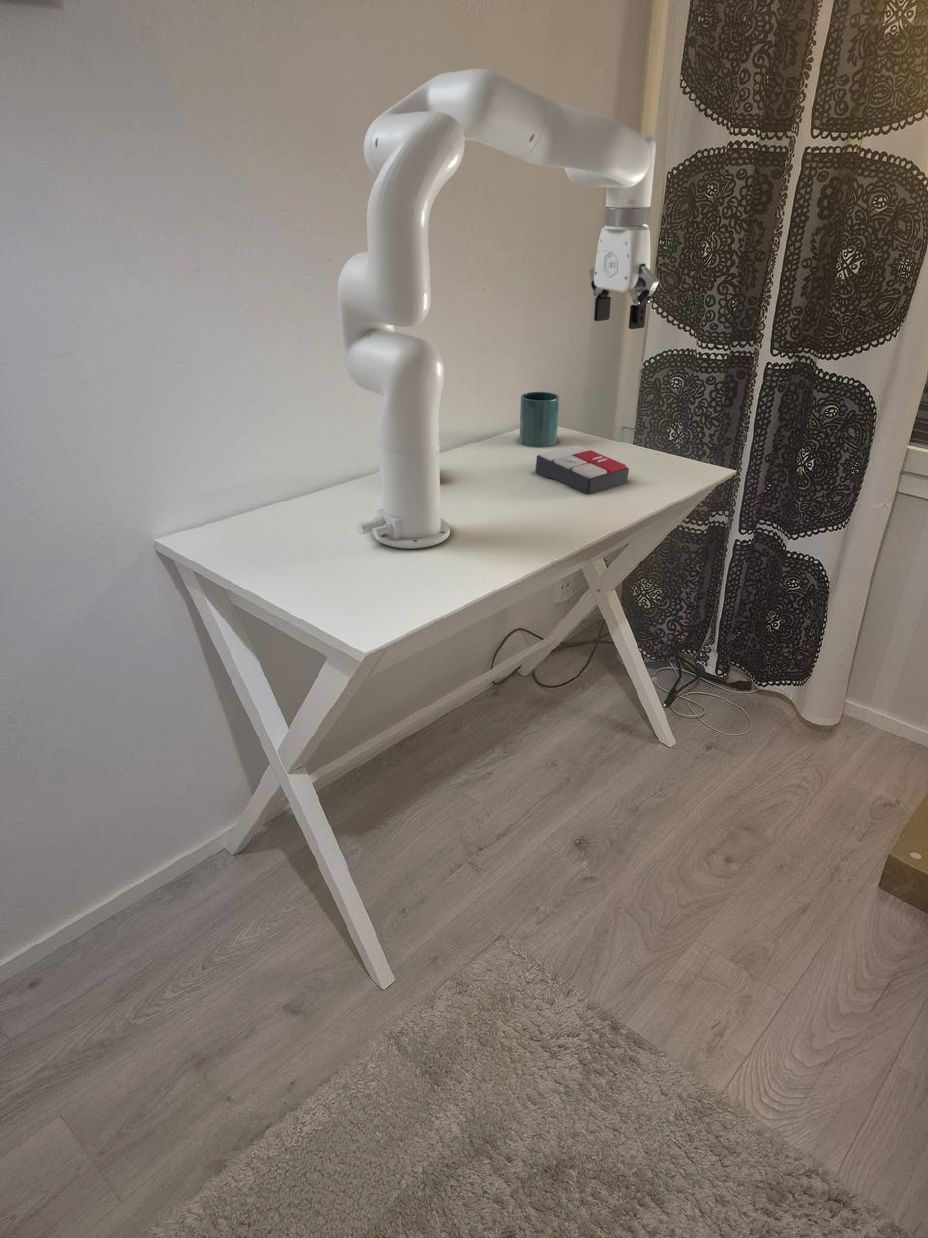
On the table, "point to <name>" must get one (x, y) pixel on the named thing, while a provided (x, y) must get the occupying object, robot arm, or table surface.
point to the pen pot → (539, 419)
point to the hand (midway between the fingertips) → (618, 324)
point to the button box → (582, 469)
